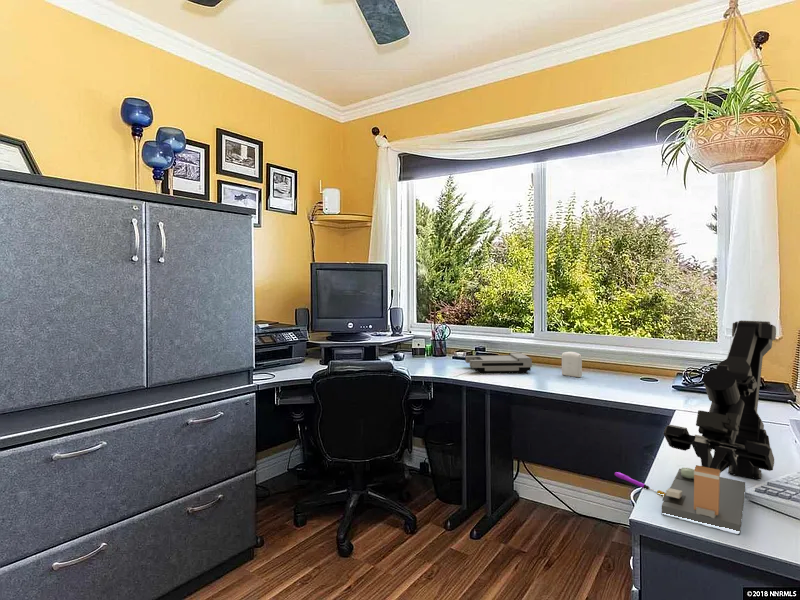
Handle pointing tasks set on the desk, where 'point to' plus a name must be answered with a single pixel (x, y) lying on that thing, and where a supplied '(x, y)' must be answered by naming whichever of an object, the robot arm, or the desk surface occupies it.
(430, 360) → the desk surface
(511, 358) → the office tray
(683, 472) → the push button
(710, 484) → the fader knob
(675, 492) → the block
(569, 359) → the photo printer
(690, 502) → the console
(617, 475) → the purple screwdriver
